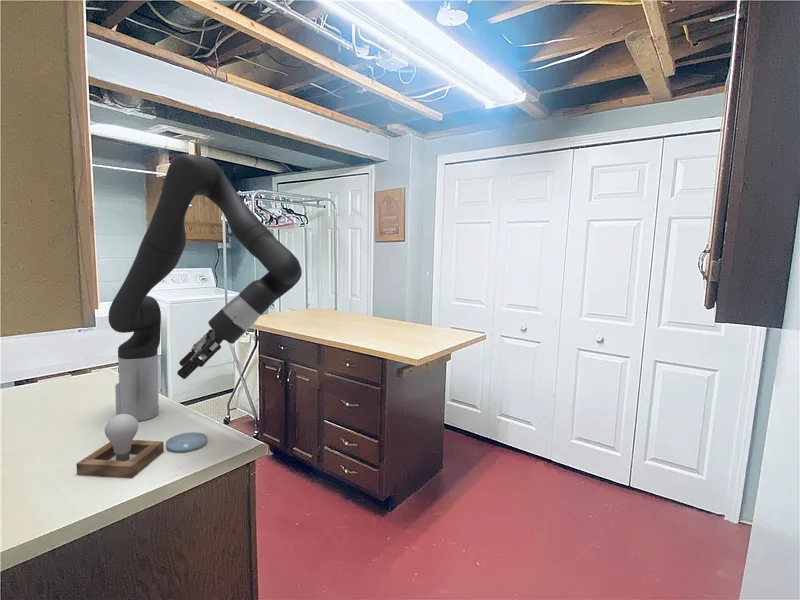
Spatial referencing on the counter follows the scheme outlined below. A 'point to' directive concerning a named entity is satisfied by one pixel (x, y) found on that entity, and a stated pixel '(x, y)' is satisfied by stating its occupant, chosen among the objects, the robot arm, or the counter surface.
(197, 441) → the pad
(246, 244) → the robot arm
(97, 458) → the frame
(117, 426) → the lightbulb
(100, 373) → the counter surface
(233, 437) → the counter surface
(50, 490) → the counter surface
